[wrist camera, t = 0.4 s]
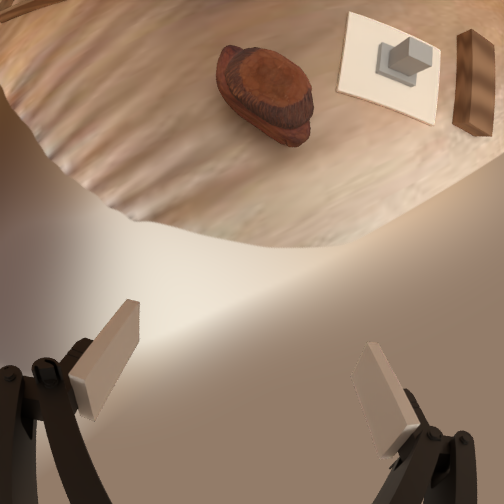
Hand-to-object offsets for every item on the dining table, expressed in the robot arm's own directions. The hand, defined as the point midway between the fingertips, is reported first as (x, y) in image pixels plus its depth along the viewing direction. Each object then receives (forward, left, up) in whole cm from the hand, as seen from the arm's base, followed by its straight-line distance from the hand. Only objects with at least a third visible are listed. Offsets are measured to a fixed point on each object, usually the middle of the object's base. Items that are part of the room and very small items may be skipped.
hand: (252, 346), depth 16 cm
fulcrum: (-28, +15, -27) cm, 42 cm away
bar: (-32, +30, -28) cm, 52 cm away
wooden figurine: (-16, -2, -28) cm, 32 cm away
